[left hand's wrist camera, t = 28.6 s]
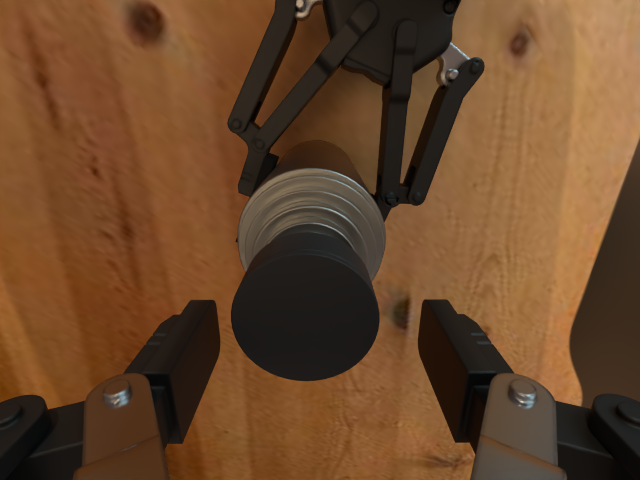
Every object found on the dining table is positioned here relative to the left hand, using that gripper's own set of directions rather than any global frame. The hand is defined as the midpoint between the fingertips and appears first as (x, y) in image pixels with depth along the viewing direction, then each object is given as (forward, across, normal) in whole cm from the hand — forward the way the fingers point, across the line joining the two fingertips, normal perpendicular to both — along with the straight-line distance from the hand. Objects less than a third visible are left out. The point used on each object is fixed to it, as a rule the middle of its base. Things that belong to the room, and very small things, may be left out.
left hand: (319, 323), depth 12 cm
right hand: (+15, -2, -4) cm, 16 cm away
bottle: (+21, 0, +1) cm, 21 cm away
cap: (-1, 0, +1) cm, 2 cm away
